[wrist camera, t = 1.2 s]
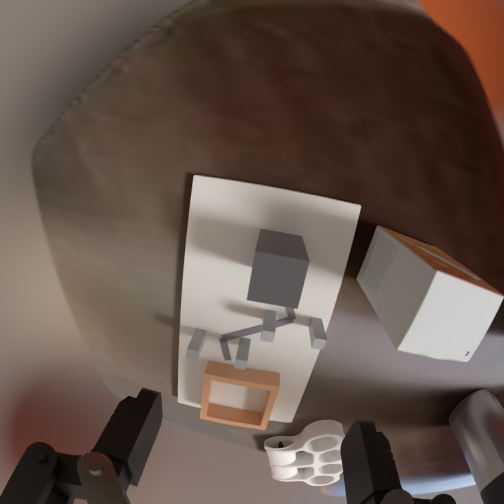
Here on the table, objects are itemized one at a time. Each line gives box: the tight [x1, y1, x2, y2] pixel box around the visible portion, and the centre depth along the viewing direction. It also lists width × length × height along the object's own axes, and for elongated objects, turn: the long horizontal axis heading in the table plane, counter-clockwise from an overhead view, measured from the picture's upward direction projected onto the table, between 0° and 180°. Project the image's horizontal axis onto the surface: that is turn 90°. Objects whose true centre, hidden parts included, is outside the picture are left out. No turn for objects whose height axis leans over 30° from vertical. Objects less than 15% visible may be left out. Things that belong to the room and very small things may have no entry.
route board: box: [178, 175, 361, 423], centre depth 30 cm, size 16×30×5 cm, turn 171°
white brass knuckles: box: [264, 420, 345, 486], centre depth 39 cm, size 3×18×15 cm
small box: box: [357, 225, 504, 362], centre depth 23 cm, size 8×6×13 cm
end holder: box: [200, 360, 280, 430], centre depth 33 cm, size 9×9×2 cm
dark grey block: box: [247, 229, 309, 309], centre depth 25 cm, size 4×4×7 cm
